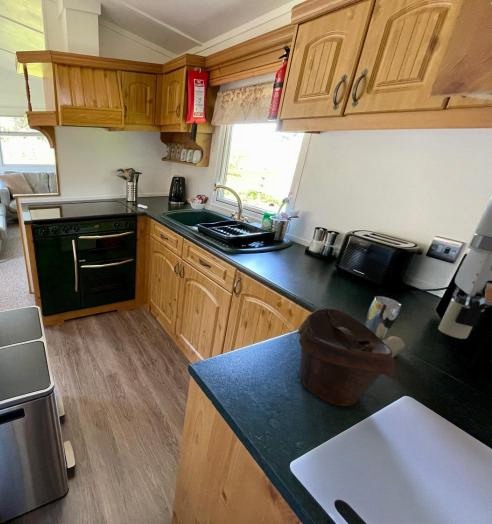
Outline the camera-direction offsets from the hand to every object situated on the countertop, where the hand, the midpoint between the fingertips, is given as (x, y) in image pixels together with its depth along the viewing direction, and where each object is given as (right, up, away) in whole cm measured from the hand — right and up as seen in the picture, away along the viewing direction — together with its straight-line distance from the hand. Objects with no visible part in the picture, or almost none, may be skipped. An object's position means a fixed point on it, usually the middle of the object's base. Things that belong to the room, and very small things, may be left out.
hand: (459, 318), depth 68 cm
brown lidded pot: (-28, -19, +5) cm, 34 cm away
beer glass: (-1, -13, +25) cm, 28 cm away
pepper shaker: (0, -4, +1) cm, 4 cm away
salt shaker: (+3, -12, +21) cm, 24 cm away
